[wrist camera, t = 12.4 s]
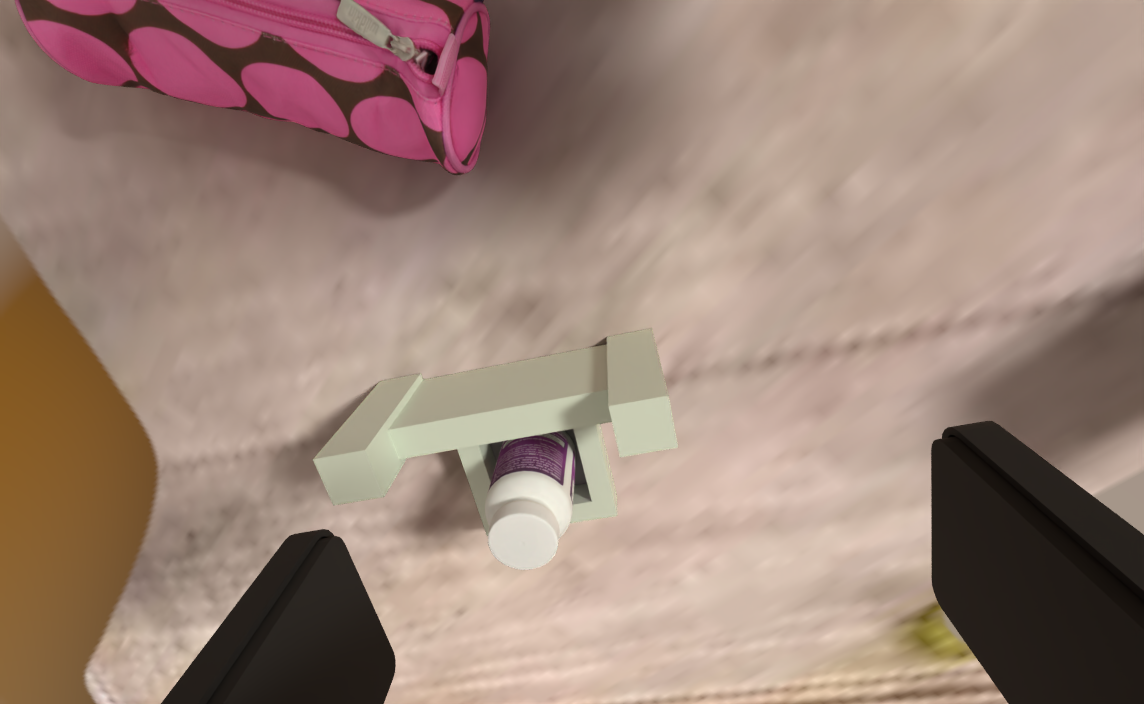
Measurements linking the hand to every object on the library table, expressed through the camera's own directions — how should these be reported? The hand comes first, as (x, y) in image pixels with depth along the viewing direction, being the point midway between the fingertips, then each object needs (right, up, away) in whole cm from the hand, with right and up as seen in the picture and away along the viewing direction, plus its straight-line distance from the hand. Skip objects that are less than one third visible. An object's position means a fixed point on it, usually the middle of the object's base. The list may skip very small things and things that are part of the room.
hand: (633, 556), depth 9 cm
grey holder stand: (-4, -3, +32) cm, 32 cm away
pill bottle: (-3, -4, +32) cm, 32 cm away
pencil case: (-15, +21, +24) cm, 35 cm away
